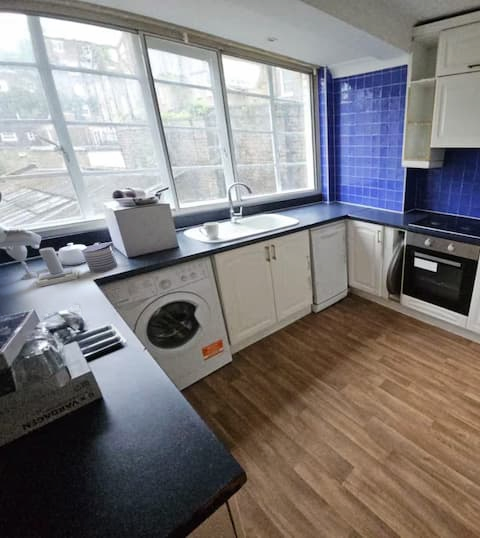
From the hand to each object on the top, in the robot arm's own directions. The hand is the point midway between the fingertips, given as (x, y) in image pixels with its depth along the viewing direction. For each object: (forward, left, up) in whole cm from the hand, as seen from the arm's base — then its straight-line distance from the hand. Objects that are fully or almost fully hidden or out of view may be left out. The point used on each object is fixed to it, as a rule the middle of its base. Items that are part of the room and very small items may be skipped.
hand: (24, 247), depth 125 cm
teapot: (+12, +31, -19) cm, 38 cm away
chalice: (-6, +21, -19) cm, 29 cm away
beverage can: (+5, +8, -16) cm, 19 cm away
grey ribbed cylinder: (+22, +9, -19) cm, 30 cm away
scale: (+5, +8, -19) cm, 21 cm away
